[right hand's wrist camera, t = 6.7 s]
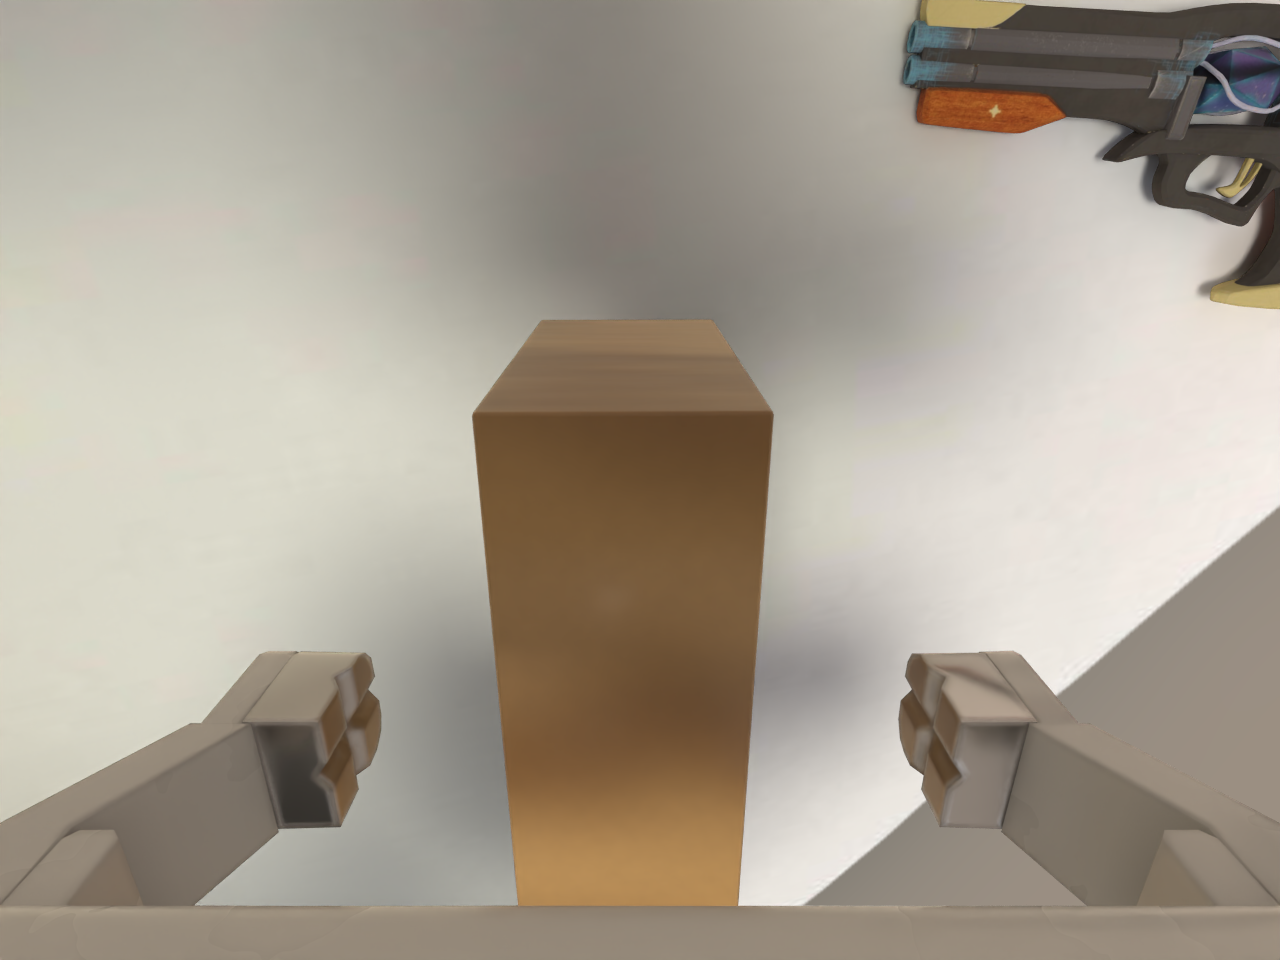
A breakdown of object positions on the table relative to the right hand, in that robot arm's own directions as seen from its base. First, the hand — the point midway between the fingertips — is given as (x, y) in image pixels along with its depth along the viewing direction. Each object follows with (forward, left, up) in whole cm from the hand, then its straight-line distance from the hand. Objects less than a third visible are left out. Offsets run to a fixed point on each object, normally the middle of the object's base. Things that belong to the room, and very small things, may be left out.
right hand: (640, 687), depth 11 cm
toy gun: (-8, +19, -21) cm, 29 cm away
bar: (+8, 0, -10) cm, 13 cm away
